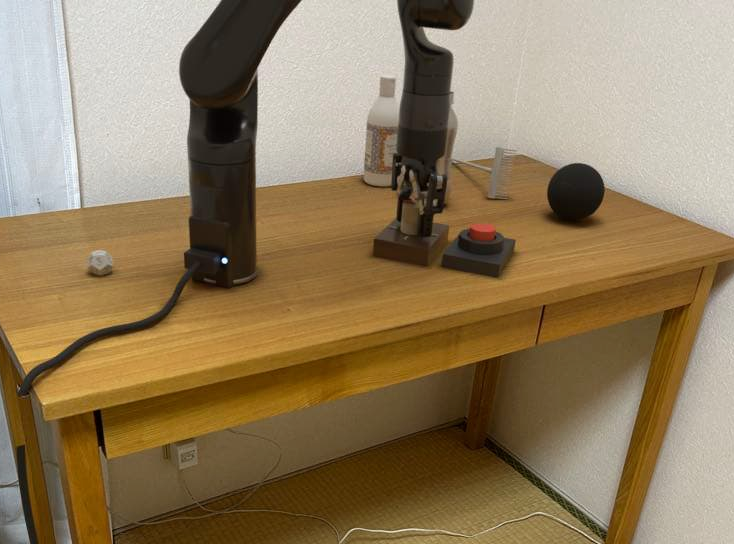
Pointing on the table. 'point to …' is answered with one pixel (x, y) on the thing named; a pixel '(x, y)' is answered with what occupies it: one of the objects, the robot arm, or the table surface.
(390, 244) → the dial panel
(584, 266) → the table surface
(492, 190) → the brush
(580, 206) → the speaker
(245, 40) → the robot arm
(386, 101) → the bath foam
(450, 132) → the plastic bottle
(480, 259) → the button housing
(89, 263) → the game die
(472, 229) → the red push button
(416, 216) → the lock dial
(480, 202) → the table surface
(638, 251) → the table surface
